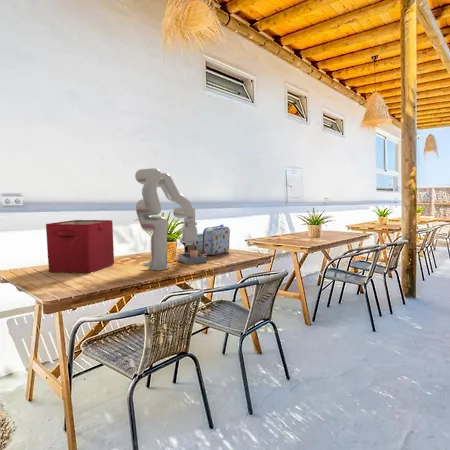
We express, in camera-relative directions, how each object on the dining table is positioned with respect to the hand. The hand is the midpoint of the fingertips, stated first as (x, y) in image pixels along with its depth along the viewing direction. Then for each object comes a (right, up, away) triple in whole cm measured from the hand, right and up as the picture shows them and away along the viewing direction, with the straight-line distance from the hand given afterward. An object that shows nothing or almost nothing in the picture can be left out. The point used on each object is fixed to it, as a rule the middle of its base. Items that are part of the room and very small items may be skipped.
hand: (190, 251), depth 227 cm
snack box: (+1, -4, +30) cm, 31 cm away
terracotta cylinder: (+3, -6, -6) cm, 9 cm away
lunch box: (+17, -4, +27) cm, 32 cm away
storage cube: (-63, -9, -23) cm, 68 cm away
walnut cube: (0, -1, 0) cm, 1 cm away
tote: (+1, -6, -3) cm, 7 cm away
